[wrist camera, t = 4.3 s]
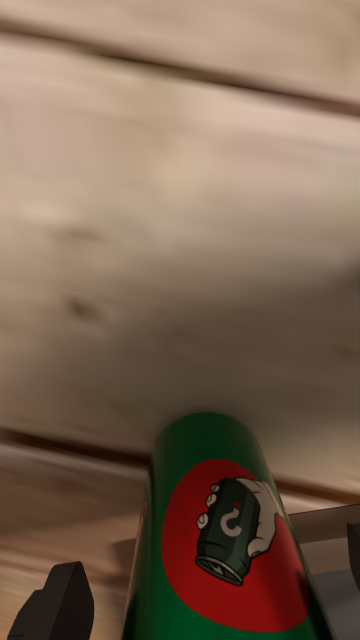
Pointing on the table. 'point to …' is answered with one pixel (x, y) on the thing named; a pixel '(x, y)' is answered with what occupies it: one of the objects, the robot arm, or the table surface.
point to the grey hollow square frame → (331, 564)
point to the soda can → (217, 544)
